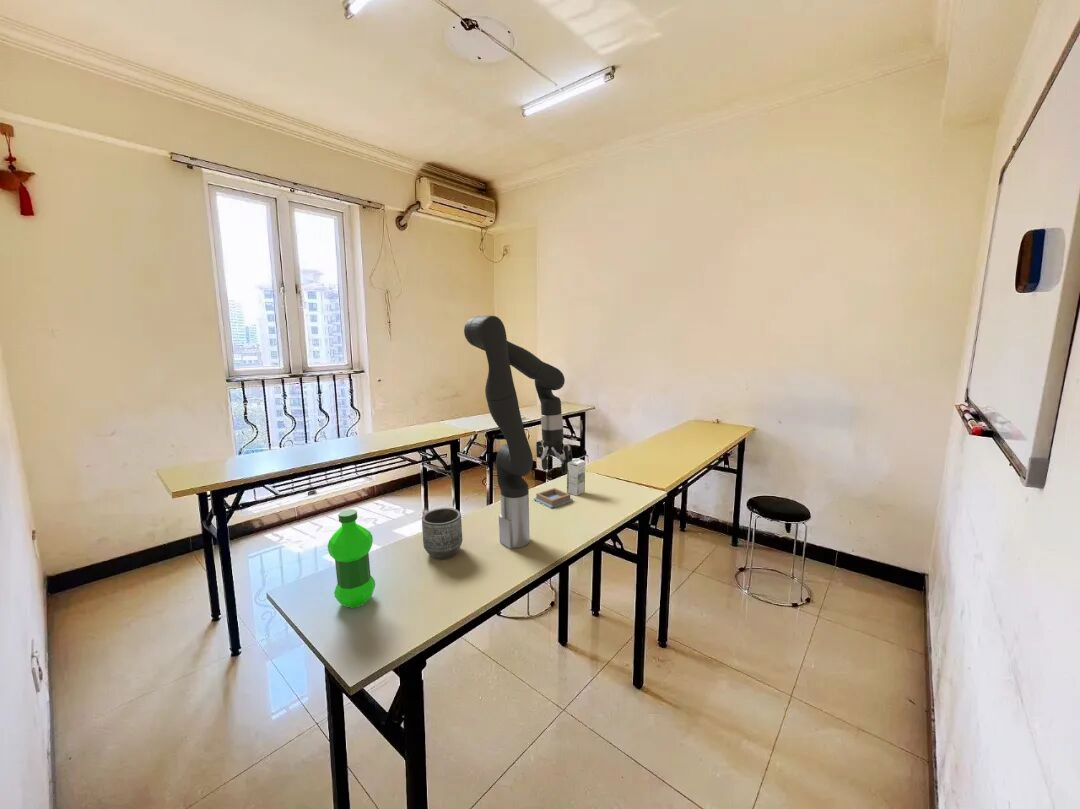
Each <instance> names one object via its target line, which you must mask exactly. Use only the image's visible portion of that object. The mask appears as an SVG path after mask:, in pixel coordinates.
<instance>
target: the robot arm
mask: <svg viewBox="0 0 1080 809" xmlns="http://www.w3.org/2000/svg"><path fill="white" fill-rule="evenodd" d="M506 332H507V331H506V328H505V325H504V323H503V321H502V320H501V318H500V317H498V316H495V315H478V316H473V317H471V318H469V319H468V320H467V321H466V322H465V324H464V328H463V335H464V338H465V339H466V341H467V342H468V344H470V345H471V346H473V347H475V348H478V349H480V350H482V351H484V352H485V355H486V359H487V364H488V373H487V379H486V381H485V382H486V383H485V389H484V392H485V398H486V402H487V407H488V410H489V413H490V416H491V417H492V419H493V421H494V422H495V424H496V426H497V427H498V428H499V430H500V432H501V433H502V434H503V436H504V439H505V441H506V443H505V444H503V445H502V446H500V447H499V449H498V451H497V452H496V453H497V454H496V461H495V467H496V477H497V479H496V480H497V485H498V488H499V489H500V490H499V491H500V515H498V528H499V529H498V531H499V534H498V535H499V543H500V544H502V545H503V546H504V547H506V548H508V550H511V549H518V548H522V547H525V546H527V545H529V543H530V541H531V540H530V539H531V538H530V504H529V503H530V500H529V499H530V497H529V484H528V483H527V481H526V480H525V479H524V477H525V476H528V475H529V473H530V472H531V470H532V468H533V465H534V458H533V453H532V449H531V446H530V443H529V441H528V438H527V434H526V432H525V427H524V423H523V418H522V415H521V411H520V406H519V400H518V396H517V391H516V386H515V383H514V379H513V374H512V368H511V367H513V368H514V369H516V370H517V371H518V372H520V373H522V374H523V375H524V376H526V377H527V378H528V379H531V380H534V386H535V390H536V393H537V396H538V397H537V398H538V400H539V402H540V410H541V411H540V412H541V413H540V414H541V417H540V418H541V419H540V424H541V440H537V441H536V442H535V443H536V445H535V446H536V447H535V448H536V451H535V452H536V458H538V459H540V460H541V468H542V470H543V471H547V470H548V469H549V461H548V457H549V456H553V457H556V458H557V459H559V461H560V463H561V464H560V468H561V474H562V475H565V474H566V475H567V472H568V463H569V462H571V461H572V460H573V452H572V445H571V444H570V443H568V444H564V421H563V414H562V412H563V411H562V402H561V399H560V397H558V396H556V395H554V393H553V391H558V390H560V389H562V388H563V387H564V385H565V382H566V381H565V375H564V373H563V372H562V371H561V370H560V369H559V368H557V367H555V366H553V365H552V364H549V363H547V362H544V361H542V360H541V359H540V358H539V357H537V356H536V355H535V354H534V353H532V352H531V351H529V350H527V349H525V348H523V347H521V346H519V345H517V344H514V343H513V342H511V341H509V340H508V339H507V338H508V337H507V333H506Z"/></svg>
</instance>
